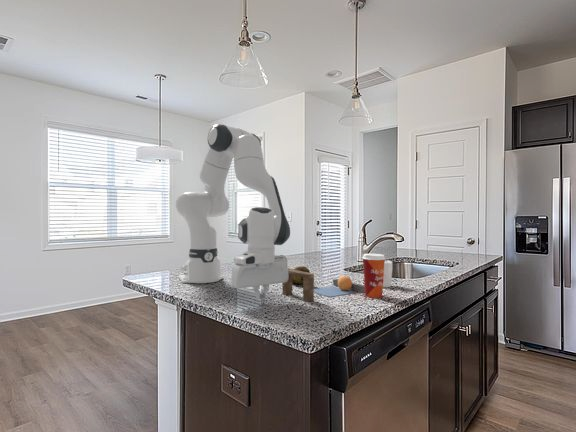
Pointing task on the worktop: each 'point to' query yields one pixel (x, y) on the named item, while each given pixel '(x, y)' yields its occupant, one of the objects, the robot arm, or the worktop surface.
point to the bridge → (307, 284)
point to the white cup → (387, 274)
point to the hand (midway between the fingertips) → (261, 298)
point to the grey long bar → (354, 286)
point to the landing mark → (331, 291)
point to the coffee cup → (373, 274)
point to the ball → (344, 283)
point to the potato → (296, 278)
